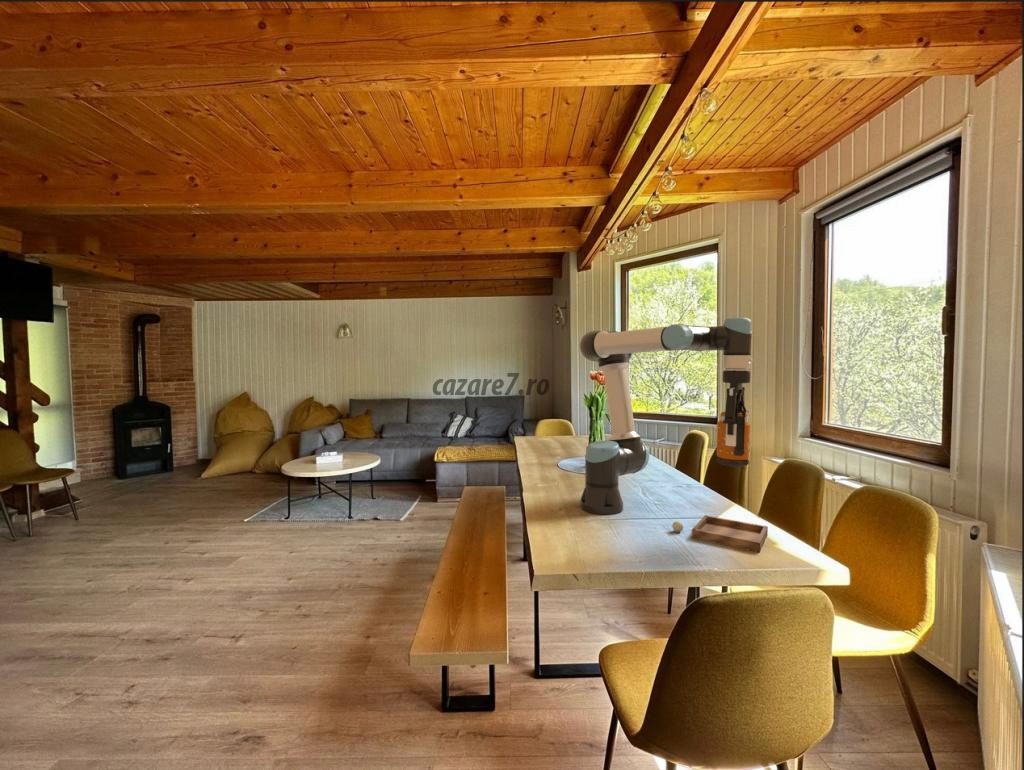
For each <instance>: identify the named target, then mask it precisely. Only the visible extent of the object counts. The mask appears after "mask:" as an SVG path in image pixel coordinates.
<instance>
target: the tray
mask: <svg viewBox="0 0 1024 770" xmlns="http://www.w3.org/2000/svg"><path fill="white" fill-rule="evenodd" d="M768 529H769V527H768V526H767V525H761V524H757V523H751V522H745V521H738V520H733V519H728V518H723V517H718V516H711V515H706V514H705V515H704V516H703V517H702V518H701V519H700V520H699V521H698V523H697V524H696V525H694V527H693V528H692V529H691V538H692V539H694V538H695V539H696V540H699V539H701V540H700V541H704V540H705V541H704V542H709V541H710V543H713V542H715V543H714V544H718V543H719V545H724V546H729V547H732V546H733V548H737V549H742V550H747V549H748V550H747V551H751V550H752V552H756V551H757V553H760V552H761V551H762V548H763V547H764V544H765V541H766V540H765V539H767V538H768V533H769V531H768ZM695 539H694V540H695Z"/></svg>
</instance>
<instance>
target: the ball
mask: <svg viewBox="0 0 1024 770" xmlns="http://www.w3.org/2000/svg"><path fill="white" fill-rule="evenodd" d="M671 527H672V529H673V531H675V532H677V533H679V532H680V533H681V532H682V531H683V529H684V525H683V522H681V521H679V520H675V521H674V522H672V526H671Z"/></svg>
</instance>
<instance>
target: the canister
mask: <svg viewBox="0 0 1024 770" xmlns="http://www.w3.org/2000/svg"><path fill="white" fill-rule="evenodd" d="M736 407H737V406H736ZM742 407H743V409H742ZM743 410H744V412H743ZM740 411H741V412H740ZM748 413H750V411H748V410H747V409H746V405H745V406H744V404H743V402H742V400H741V401H740V403H739V404H738V408H737V415H736V423H735V424H737V427H736V446H726V445H725V444H726V423H723V420H724V419H725V411H721V413H720V414H719V421H718V422H717V429H716V433H717V434H716V462H717V463H718V464H721V465H722V466H726V467H732V468H742V467H745V466H748V465H749V464H750V460H749V459H750V441H751V424H750V422H749V414H748Z"/></svg>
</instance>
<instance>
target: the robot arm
mask: <svg viewBox="0 0 1024 770" xmlns="http://www.w3.org/2000/svg"><path fill="white" fill-rule="evenodd" d="M752 329H753V328H752V320H751V319H750V318H748V317H730V318H726V319H725V320H724V322H723V325H718V326H702V325H689V324H683V323H676V324H675V323H674V324H671V325H668V326H661V327H660V326H659V327H652V328H650V327H649V328H643V329H633V330H625V331H616V330H614V331H612V330H611V331H610V330H590V331H588V332H586V333H585V334H584V335H583V336H582V337H581V339H580V342H579V351H580V353H581V355H582V357H584V358H585V359H586V360H588V361H590V362H595V363H596V362H597V363H598V368H599V370H601V371H602V372H603V377H604V384H605V390H606V400H607V406H608V413H609V421H610V429H611V435H610V437H609V438H608V440H599V441H598V440H597V441H593V442H591V443H589V444H587V445H586V448H585V454H584V457H585V458H584V459H585V463H584V464H585V465H584V466H585V470H584V471H585V473H584V474H585V476H584V477H585V478H584V479H585V481H584V482H585V484H584V485H585V486H584V489H583V491H582V495H581V497H580V502H579V507H580V509H581V510H583V511H584V512H587V513H590V514H596V515H597V514H598V515H614V514H619V513H621V512H622V511H624V502H623V501H624V500H623V498H622V495H621V492H620V488H619V477H621V476H625V475H631V474H633V475H634V474H636V473H639V472H640V471H641V472H642V471H643V470H644V469H645V468H646V467H647V465H648V463H649V460H650V452H649V448H648V446H647V445H646V444H645V443H644V442H643V441H642V440H641V435H639V434H638V433H637V432H636V426H635V420H634V413H633V407H632V398H631V393H630V392H631V391H630V384H629V378H628V370H627V368H629V366H630V365H631V363H630V362H631V361H630V359H631V358H632V356H633V354H638V353H639V354H641V353H652V352H654V353H655V352H669V351H692V352H693V351H694V352H703V351H704V352H705V351H707V352H708V351H722V352H723V353H722V354H723V356H722V369H724V370H723V371H722V382H723V383H724V384H725V383H726V384H729V387H727V388H726V398H725V399H726V401H725V410H724V412H725V419H724V420H723V423H726V444H725V445H726V446H736V427H737V424H735V423H736V415H737V408H738V404H739V403H740V401H741V400H742V402H743V404H744V406H745V407H746V405H745V403H746V401H745V400H746V399H745V390H746V388H745V386H743V384H750V382H751V371H750V369H751V363H753V362H754V359H753V358H751V357H752V352H751V351H752V335H753V331H752ZM736 406H737V407H736ZM742 409H743V407H742ZM740 412H741V411H740ZM743 412H744V410H743Z"/></svg>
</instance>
